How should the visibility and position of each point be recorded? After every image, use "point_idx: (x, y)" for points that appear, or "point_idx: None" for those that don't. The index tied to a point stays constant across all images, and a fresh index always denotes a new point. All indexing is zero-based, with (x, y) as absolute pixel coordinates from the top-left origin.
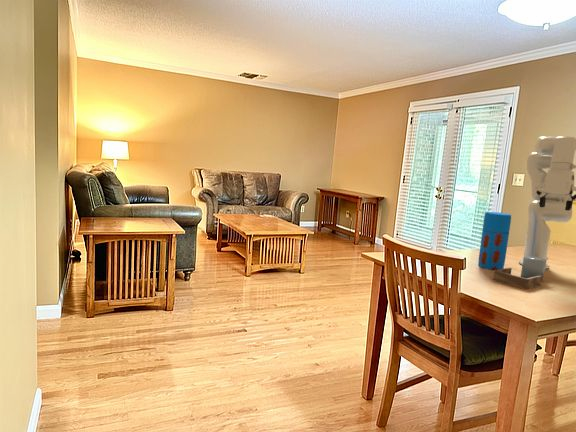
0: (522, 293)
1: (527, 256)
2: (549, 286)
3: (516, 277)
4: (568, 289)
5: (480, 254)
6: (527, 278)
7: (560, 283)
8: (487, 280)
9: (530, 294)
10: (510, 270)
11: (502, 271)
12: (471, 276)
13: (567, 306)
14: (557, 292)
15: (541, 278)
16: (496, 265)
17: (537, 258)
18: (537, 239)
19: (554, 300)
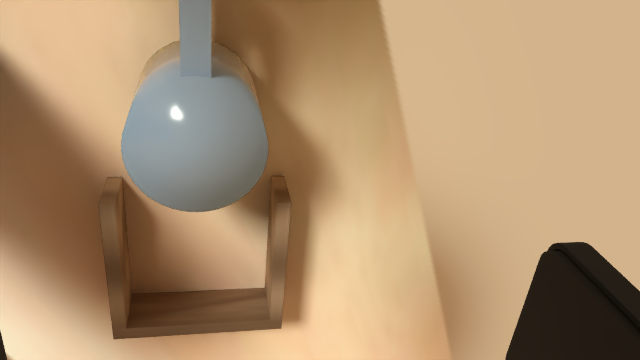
0: (290, 348)
1: (134, 134)
2: (313, 144)
3: (230, 328)
4: (387, 105)
5: None
6: (273, 314)
7: (326, 13)
8: None
9: (312, 332)
10: (117, 207)
11: (123, 284)
12: (35, 342)
13: (435, 334)
14: (368, 208)
15: (288, 198)
16: None
17: (205, 125)
18: None
19: (390, 316)
